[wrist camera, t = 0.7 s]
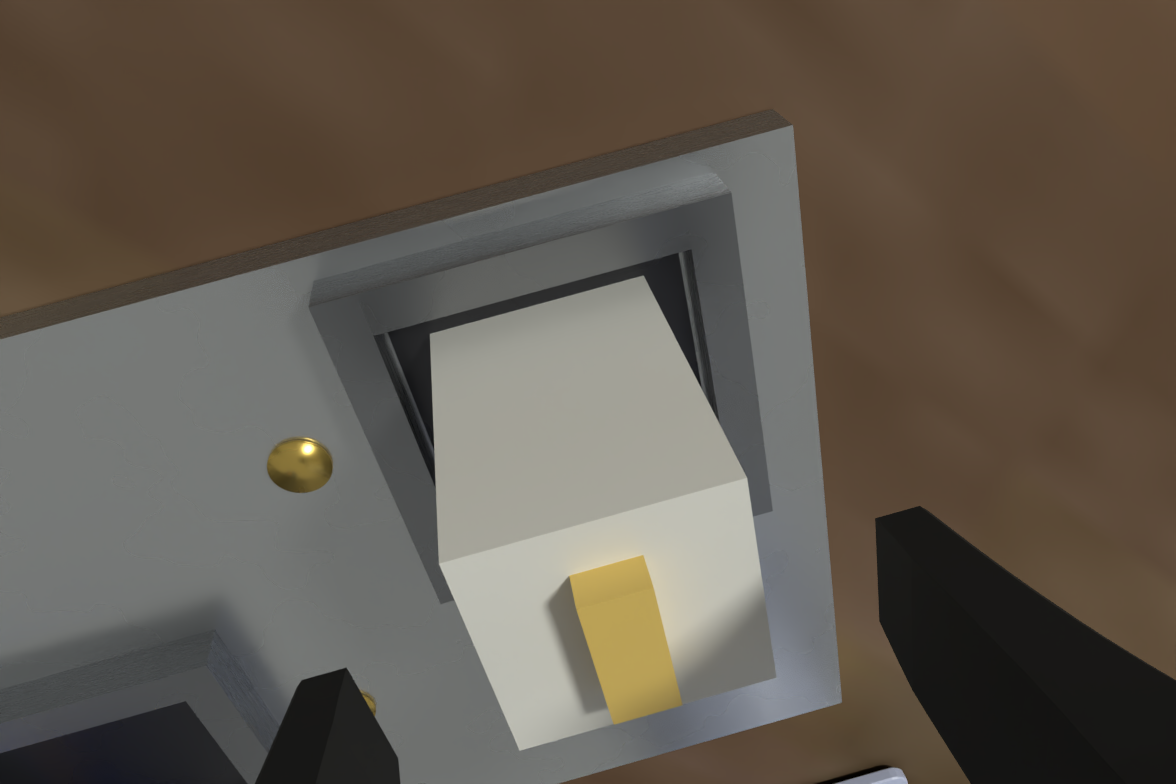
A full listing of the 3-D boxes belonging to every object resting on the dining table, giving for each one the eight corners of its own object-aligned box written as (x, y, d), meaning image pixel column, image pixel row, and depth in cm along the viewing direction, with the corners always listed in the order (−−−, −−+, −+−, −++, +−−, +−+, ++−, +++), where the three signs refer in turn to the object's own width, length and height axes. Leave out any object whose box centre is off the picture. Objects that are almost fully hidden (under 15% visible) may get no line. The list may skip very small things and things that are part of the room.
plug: (677, 445, 18) (791, 710, 13) (489, 497, 18) (523, 787, 13) (643, 275, 16) (763, 507, 11) (429, 334, 16) (440, 598, 11)
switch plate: (827, 672, 25) (857, 733, 23) (54, 893, 24) (28, 971, 23) (773, 109, 16) (815, 143, 14) (-443, 437, 16) (-545, 511, 14)
